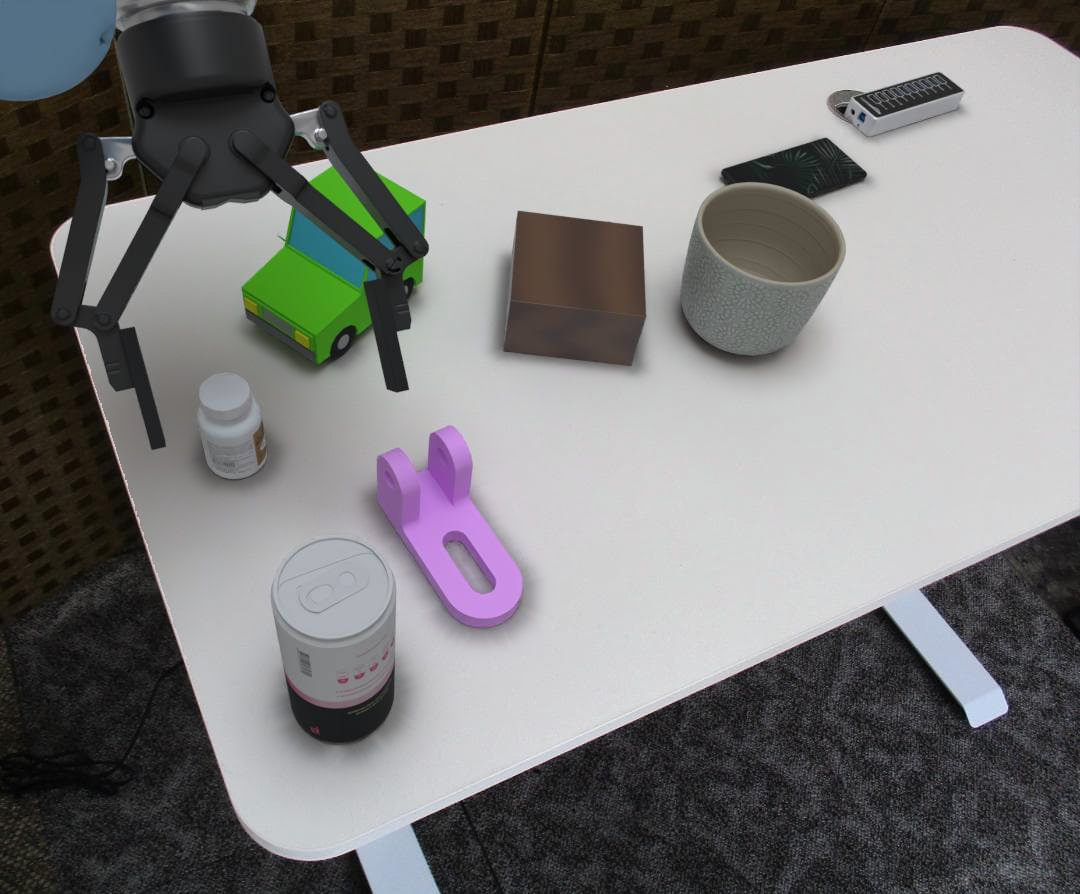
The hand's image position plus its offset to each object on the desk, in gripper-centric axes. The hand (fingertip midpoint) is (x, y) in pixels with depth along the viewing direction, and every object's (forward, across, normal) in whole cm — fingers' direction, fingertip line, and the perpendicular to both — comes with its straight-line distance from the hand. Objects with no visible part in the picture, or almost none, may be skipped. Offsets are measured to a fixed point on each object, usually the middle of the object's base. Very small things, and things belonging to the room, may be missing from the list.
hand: (283, 417), depth 56 cm
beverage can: (+19, 0, -4) cm, 20 cm away
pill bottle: (+5, +2, -19) cm, 20 cm away
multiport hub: (-13, -78, -37) cm, 88 cm away
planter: (+4, -42, -20) cm, 47 cm away
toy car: (-4, -9, -28) cm, 30 cm away
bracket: (+14, -10, -10) cm, 20 cm away
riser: (0, -28, -24) cm, 37 cm away
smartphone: (-8, -59, -32) cm, 67 cm away
